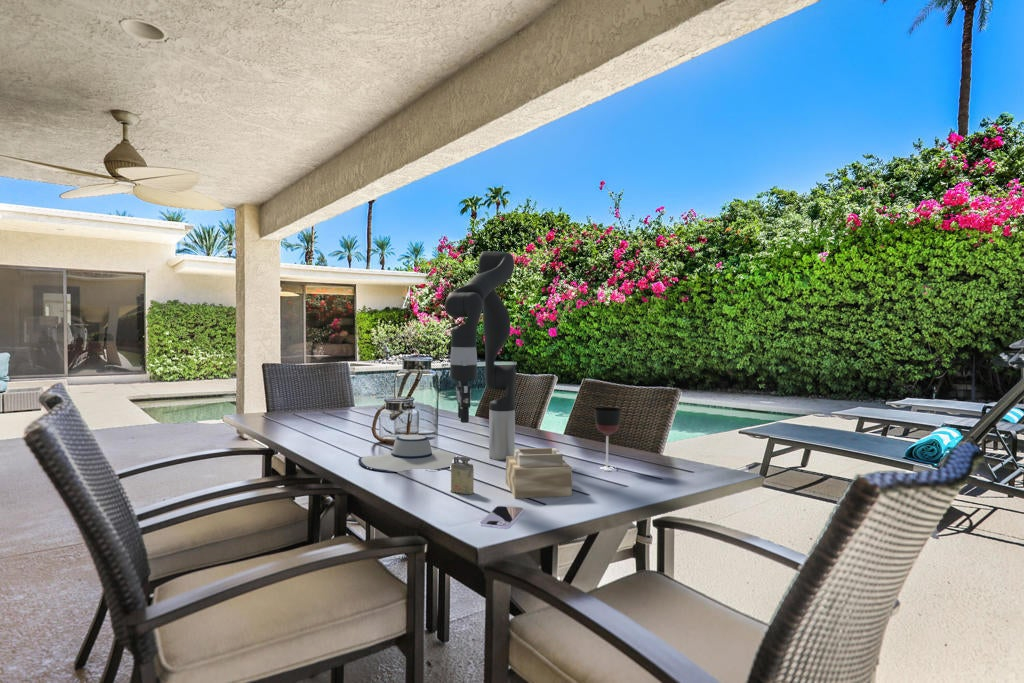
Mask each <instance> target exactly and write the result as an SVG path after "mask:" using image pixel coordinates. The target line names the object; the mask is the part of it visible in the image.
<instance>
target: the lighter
mask: <svg viewBox="0 0 1024 683" xmlns="http://www.w3.org/2000/svg"><path fill="white" fill-rule="evenodd" d="M459 460H460V461H459ZM470 461H471V458H470V457H467V456H459V455H458V456H457V457H454V463H452V464H451V468H450V492H452V493H455V492H456V494H460V495H461V494H462V495H472V494H474V482H475V481H474V477H475V476H474V475H475V474H474V470H475V469H474V464H473V463H469V462H470Z"/></svg>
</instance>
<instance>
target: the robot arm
mask: <svg viewBox="0 0 1024 683" xmlns="http://www.w3.org/2000/svg"><path fill="white" fill-rule="evenodd" d="M478 257H479V259H478V274H477V275H474V276H473V277H471V279H469V280H468V281H467V283H465V285H463V286H460V287H459V288H457V289H454V290H452V291H451V292H450V293H449V294H448V295H447V296H446V299H445V302H444V309H445V311H446V313H447V314H448V316H450V317H452V318H466V320H465V322H464V324H461V325H456V326H454V327H452V329H451V337H450V344H451V345H450V346H451V347H450V354H449V356H450V360H449V361H450V364H449V365H450V366H449V368H450V369H449V371H450V372H449V374H450V375H449V376H450V380H451V381H457V382H456V386H455V392H456V401H457V402H456V404H457V417H458V419H460V423H463V424H468V423H469V422H470V421H469V420H470V409H471V400H472V398H471V397H472V396H471V394H472V386H471V385H470V384H469V382H470V381H476V380H477V379H478V355H477V353H478V352H477V331H478V326H479V322H480V319H481V315H482V321H483V322H482V323H483V338H484V347H485V348H484V349H485V350H484V352H485V354H484V356H485V366H484V367H485V369H484V374H485V375H484V376H485V377H484V380H485V386H486V389H487V390H488V391H500V392H501V391H502V392H503V391H504V392H506V393H505V394H504V395H503V396H500V397H499V398H496V399H494V400H491V401H490V402H489V404H488V405H489V406H488V408H489V409H488V410H489V411H488V412H489V413H488V415H489V422H488V424H489V426H488V427H489V430H488V436H489V437H488V439H489V440H488V458H490V459H494V460H500V461H501V460H503V461H506V457H507V456H514V449H516V448H515V447H516V443H515V442H516V440H515V439H516V431H515V430H516V426H515V425H516V420H515V419H516V401H515V400H516V399H515V398H516V382H517V373H516V372H517V371H516V368H515V366H514V365H511V364H495V361H496V358H497V357H498V355H499V352H500V351H501V349H502V348H503V346H504V345H505V343H506V341H507V340H508V339H509V338H510V337H509V336H510V334H511V315H510V313H509V310H508V308H507V307H506V305H505V304H504V303H503V301H502V299H501V297H500V296H499V295H498V293H497V290H496V289H497V288H498V287H499V286H501V285H503V284H504V283H506V282H507V281H509V280H510V278H511V277H512V276H513V274H514V270H515V261H514V256H513V255H512V254H511V253H510V252H507V251H493V250H492V251H490V250H484V251H481V252H480V254H479V256H478Z"/></svg>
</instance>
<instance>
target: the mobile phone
mask: <svg viewBox="0 0 1024 683" xmlns="http://www.w3.org/2000/svg"><path fill="white" fill-rule="evenodd" d="M524 511H525V510H524V508H522V507H516V506H507V505H506V506H505V505H504V506H503V505H497V506H495V507H494V508H493V509H492V510H491V511H490V512H489V513H488V514H487V515H486V516H484V518H483V519H482V520H481V521H479V523H478V525H479V526H480V525H482V526H481V527H486V526H493V527H492V528H495V527H500V528H499V529H509V528H510V527H511V526H512V525H513V524H514V523H515V521H516V520H517V519H518V518H519V517H520V516H521V515H522V513H523V512H524ZM508 527H509V528H508Z"/></svg>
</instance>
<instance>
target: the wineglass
mask: <svg viewBox="0 0 1024 683" xmlns="http://www.w3.org/2000/svg"><path fill="white" fill-rule="evenodd" d="M593 412H594V422H595V427H596V428H597V430H598V431H599V432H600V433H602V435H605V465H604V467H600V466H599V467H600V469H604V470H612V469H614V468H613V467H614V466H610V467H608V466H609V436H611V435H612V434H615V432H617V431H618V429H619V427H620V424H621V416H622V409H621V408H619V407H609V406H607V407H605V406H604V407H595V408H594V411H593Z"/></svg>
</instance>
